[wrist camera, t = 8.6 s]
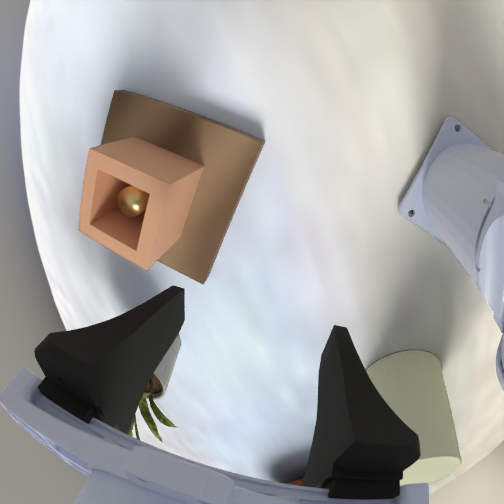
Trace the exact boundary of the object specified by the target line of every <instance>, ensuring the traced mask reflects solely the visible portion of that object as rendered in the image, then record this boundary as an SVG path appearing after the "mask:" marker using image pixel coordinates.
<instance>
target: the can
mask: <svg viewBox="0 0 504 504" xmlns="http://www.w3.org/2000/svg"><path fill="white" fill-rule="evenodd" d="M366 372H367V374H368V376H369V378H370V379H371V381H372V383H373V384H374V386H375V387H376V389H377V391H378V392H379V394H380V395H381V396H382V398H383V399H384V400H385V402H386V403H387V404H388V405H389V407H390V408H391V409H392V410H393V411H394V412H395V414H396V415H397V416H398V417H399V418H400V419H401V420H402V421H403V422H404V423H405V424H406V425H407V426H408V427H410V428H411V429H412V430H413V431H414V432H415V433H416V434H417V435H418V437H419V442H420V452H421V456H420V458H419V459H418V460H417V461H416V462H415V463H414V464H412V465H411V466H410V467H408V468H407V469H405V470H404V471H403V479H402V480H400V486H401V485H405V484H415V483H428V485H429V484H432V483H434V482H436V481H439V480H441V479H443V478H445V477H446V476H448V475H450V474H451V473H452V472H454V471H455V470H456V469H457V468H458V467H459V466H460V464H461V456H460V452H459V447H458V442H457V436H456V431H455V427H454V422H453V417H452V412H451V408H450V404H449V399H448V395H447V391H446V387H445V383H444V379H443V374H442V366H441V363H440V361H439V359H438V358H437V357H436V356H435V355H433V354H431V353H429V352H426V351H421V350H407V351H401V352H397V353H394V354H391V355H388V356H386V357H384V358H382V359H380V360H378V361H376V362H375V363H374V364H372V365H371V366H370V367H369V368H368V369H367V370H366Z"/></svg>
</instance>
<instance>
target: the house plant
mask: <svg viewBox="0 0 504 504" xmlns="http://www.w3.org/2000/svg"><path fill="white" fill-rule="evenodd" d="M180 346H181V340H180V337H179V335H177V337H176V339H175V340H174V342H173V344H172V345H171V347H170V348H169V350H168V351H167V353H166V354H165V356H164V357H163V359H162V360H161V362H160V364H159V365H158V367H157V368H156V370H155V372H154V373H153V375H152V377H151V379H150V381H149V383H148V385H147V387H146V389H145V392H144V394H143V396H142V398H141V400H140V403H139V408H140V412H141V414H142V416H143V418H144V420H145V422H146V423H147V425H148V427H149V428H150V430H151V431H152V433H153V434H154V435H155V437H157V438H158V439H159V440H160V441H161V442H162V439H161V437H160V436H159V434H158V431H157V427H156V424H155V422H154V420H153V418H152V416H151V414H150V412H149V408H148V404H147V401H146V399H149V401H150V405H151V408H152V410H153V412H154V414H155V416H156V417H157V419H158V420H159V421H160V422H161V423H163V424H164V425H167V426H169V427H176V426H175V425H174V424H173V423H172V422H171V421H170V420H169V419H167V418H166V417H165V416H164V415H163V413H162V412H161V411H160V410H159V409H158V407H157V406H156V404H155V403H154V401H153V399H154V400H155V399H160V398H162V397H163V396H164V395H165V392H166V389H167V386H168V383H169V380H170V377H171V374H172V371H173V367H174V364H175V361H176V358H177V355H178V352H179V349H180ZM134 422H135V431H136V436H137V439H138V440H140V438H139V435H138V429H137V424H136V417H135V415H134V418H133V420H132V423H131V426H130V428H129V431H128V434H127V435H129V436H131V437H132V430H133V429H132V428H133V425H134Z"/></svg>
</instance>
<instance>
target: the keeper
mask: <svg viewBox="0 0 504 504" xmlns="http://www.w3.org/2000/svg"><path fill="white" fill-rule="evenodd" d="M132 137H136V138H139V139H141V140H144V141H146V142H149V143H151V144H153V145H156V146H158V147H161V148H163V149H165V150H168V151H170V152H173V153H175V154H177V155H180V156H182V157H184V158H187V159H189V160H191V161H193V162H196V163H198V164H200V165H203V166H205V167H204V169H203V172H202V175H201V177H200V180H199V183H198V186H197V189H196V191H195V194H194V197H193V200H192V203H191V206H190V209H189V212H188V215H187V218H186V221H185V224H184V227H183V230H182V233H181V236H180V238H179V239H178V240H177V241H176V242H175V243H174V244H173V245H172V246H171V247H170V248H169V249H168V250H167V251H166V252H165V253H164V254H163V255H162V256H161V257H160V258H159V259H158V260H157V261H159V262H161V263H162V264H164V265H166V266H168V267H170V268H172V269H174V270H176V271H178V272H180V273H182V274H184V275H186V276H188V277H189V278H191V279H193V280H195V281H197V282H199V283H201V284H204V283H205V281H206V280H207V278H208V276H209V274H210V271H211V269H212V266H213V264H214V261H215V259H216V256H217V254H218V252H219V249H220V247H221V244H222V242H223V239H224V237H225V234H226V232H227V230H228V227H229V225H230V222H231V220H232V217H233V215H234V213H235V210H236V208H237V206H238V203H239V201H240V198H241V196H242V194H243V191H244V189H245V187H246V184H247V182H248V180H249V177H250V175H251V173H252V170H253V168H254V166H255V164H256V161H257V159H258V157H259V154H260V152H261V150H262V148H263V145H264V143H265V141H263V140H260V139H258V138H256V137H253V136H251V135H249V134H246V133H244V132H242V131H239V130H237V129H234V128H232V127H229V126H227V125H224V124H222V123H219V122H217V121H214V120H212V119H209V118H206V117H204V116H201V115H198V114H196V113H193V112H190V111H187V110H185V109H182V108H179V107H176V106H173V105H170V104H167V103H164V102H161V101H158V100H155V99H152V98H148V97H145V96H142V95H139V94H135V93H132V92H128V91H125V90H115V91H114V95H113V98H112V102H111V105H110V109H109V113H108V117H107V121H106V125H105V129H104V133H103V138H102V142H101V145H104V144H107V143H111V142H115V141H119V140H123V139H127V138H132ZM149 196H150V194H149V193H147V192H145V191H143V190H141V189H139V188H136V187H134V186H132V185H130V186H128V187H126V188H124V189H123V190H121V191H120V193H119V195H118V206H119V208H120V210H121V212H122V213H123V214H124V215H126V216H128V217H136V216H138V215H139V214H141V213H143V212H144V211H146V208H147V204H148V200H149Z"/></svg>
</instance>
